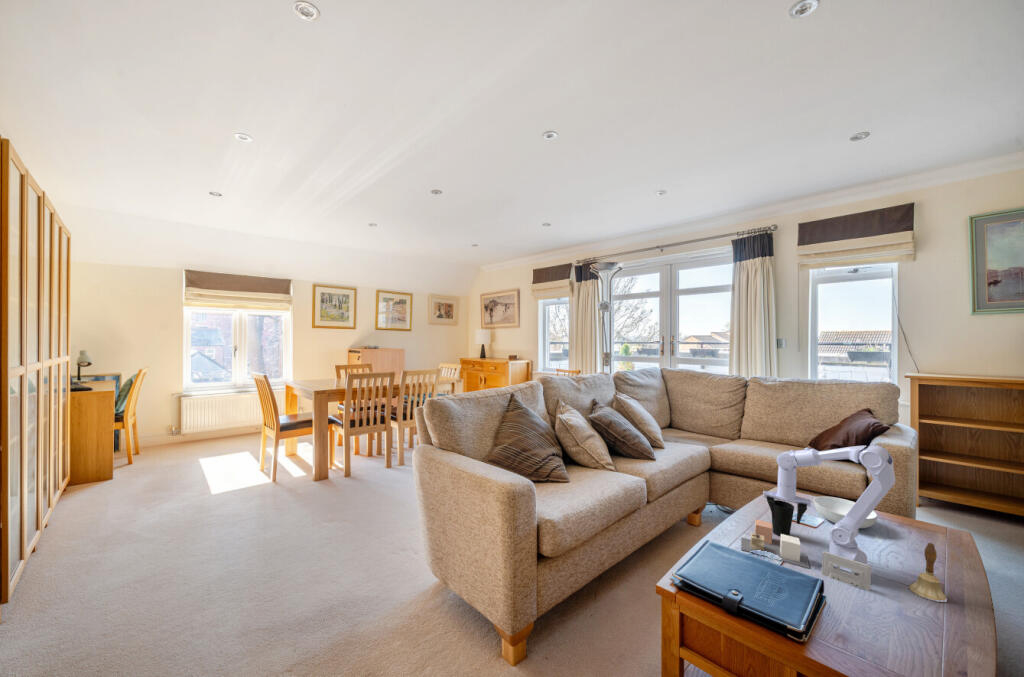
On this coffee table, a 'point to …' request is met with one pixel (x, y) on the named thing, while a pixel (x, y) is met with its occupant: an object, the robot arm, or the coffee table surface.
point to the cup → (782, 518)
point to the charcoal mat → (775, 550)
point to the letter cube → (757, 542)
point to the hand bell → (928, 578)
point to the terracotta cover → (764, 530)
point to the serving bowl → (839, 509)
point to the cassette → (845, 576)
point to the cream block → (790, 547)
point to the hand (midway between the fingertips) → (785, 520)
